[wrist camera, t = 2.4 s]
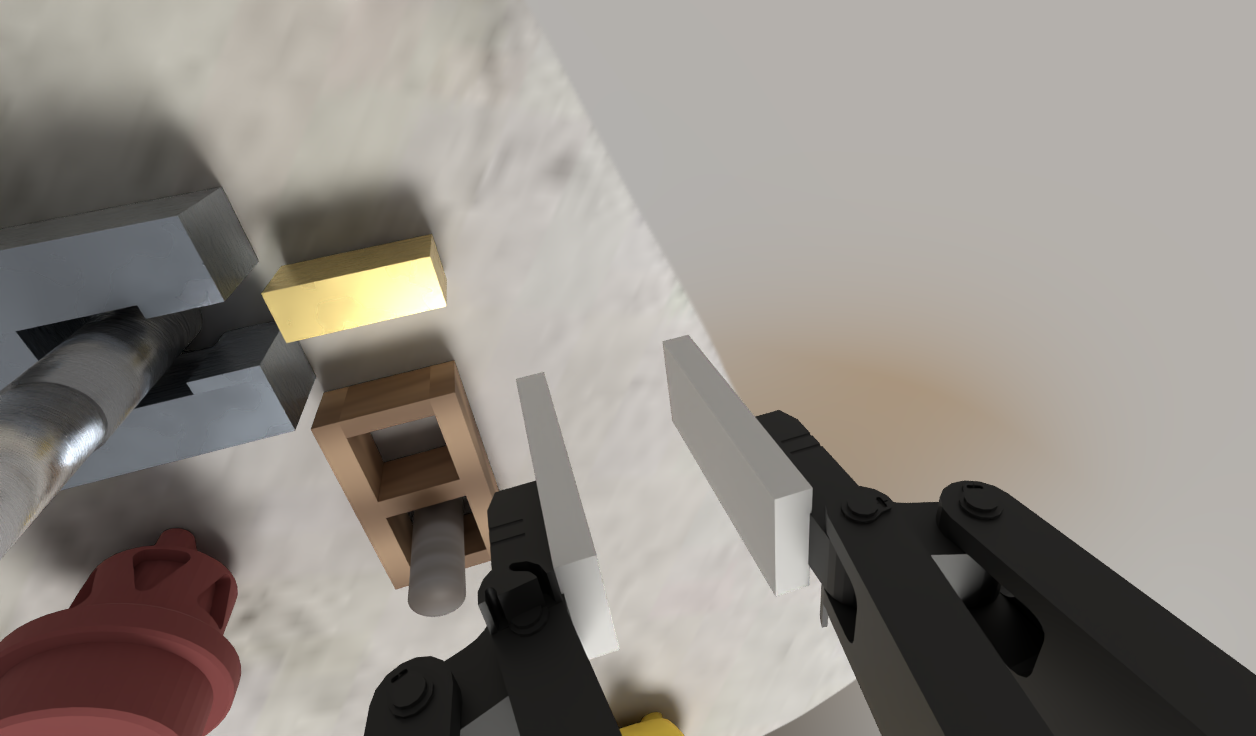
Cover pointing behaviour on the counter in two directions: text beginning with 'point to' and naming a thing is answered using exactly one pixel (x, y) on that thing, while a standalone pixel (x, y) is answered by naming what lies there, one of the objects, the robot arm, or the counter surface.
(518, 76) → the counter surface
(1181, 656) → the robot arm
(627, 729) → the teapot
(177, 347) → the grey cylindrical peg
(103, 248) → the socket block
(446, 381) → the frame
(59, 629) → the mechanical component
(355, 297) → the bar
